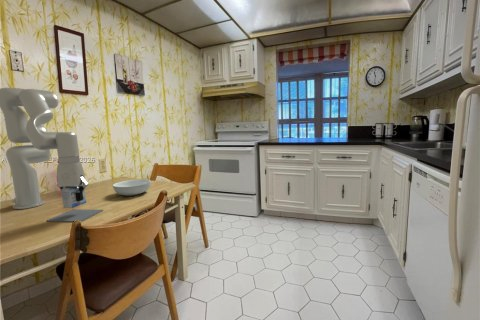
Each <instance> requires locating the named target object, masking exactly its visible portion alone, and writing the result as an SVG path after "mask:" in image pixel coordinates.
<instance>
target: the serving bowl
mask: <svg viewBox="0 0 480 320" xmlns="http://www.w3.org/2000/svg"><path fill="white" fill-rule="evenodd" d="M151 183H152V181H151V180H150V179H140V178H139V179H130V180H124V181H119V182H115V183H114V184H112V188H113V191H114V192H115V193H116V194H117V195H120V196H127V197H128V196H129V197H132V196H137V195H140V194H142V193H145V192H147V191H148V190H149V188H150V187H151Z"/></svg>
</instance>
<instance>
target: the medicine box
mask: <svg viewBox="0 0 480 320" xmlns="http://www.w3.org/2000/svg"><path fill="white" fill-rule="evenodd" d="M79 188H80V187H79ZM60 192H61V193H60V194H61V200H62V206H63V209H74V208H76V207H79V206H82V205H84V204H86V203H87V199H86V198H87V197H86V188H85V189H84V191H82V192H83V200H81V201H79V202H77V200H76V193H77V191H76V189H75V187H67V188H64V189H61V188H60Z"/></svg>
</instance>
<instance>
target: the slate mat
mask: <svg viewBox="0 0 480 320" xmlns="http://www.w3.org/2000/svg"><path fill="white" fill-rule="evenodd" d="M102 212H104V209H79V208H78V209H77V208H75V209H74V208H72V209H71V210H68V211H65V212H64V213H61V214H59V215H56V216H53V217H51V218H49V219H46V220H45V221H46V222H51V223H53V222H54V223H55V222H56V223H74V222H73V221H75V220H79V221H81V222H80V223H82V222H84V221H86V220H88V219H90V218H92V217H94V216H95V215H98V214H100V213H102Z"/></svg>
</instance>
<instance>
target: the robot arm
mask: <svg viewBox="0 0 480 320" xmlns="http://www.w3.org/2000/svg"><path fill="white" fill-rule="evenodd" d="M58 105H59V99H58V96H57V95H56V94H55V93H54V92H52V91H50V90H43V89H35V88H17V87H2V88H0V110H1V112H2V114H3V117H4V123H5V124H4V125H5V130H6V135H7V139H8V140H9V141H10V142H11V143H14V144H23V145H15V146H11V147H9V148H8V149H7V150H6V152H5V157H6V159H7V162H8V164H9V167H10V171H11V178H12V183H13V190H14V196H15V197H14V199H12V200H11V203H15V204H14V205H13V206H12V209H14V210H24V209H25V210H26V209H32V208H36V207H39V206H42V205H44V204H46V203H45V200H43V199H41V194H40V193H41V192H40V186H39V179H38V178H39V177H38V173H37V170H36V169H35V168H34V167H33V166H32V164H38V163H45V162H48V161H49V160H50V159H51V150H56V151H57V162H58V164H57V167H56V182H57V184H56V186H57V187H58V188H60V190H61V189H64V188H67V187H75V189H76V191H77V193H76V200H77V202H79V201H81V200H83V192H82V191H84V189H85V190H86V187H88V186H89V183H88V182H87V181H86V177H85V170H84V167H83V165H82V162H81V158H80V151H79V143H78V135H77V134H76V132H73V131H67V132H65V131H64V132H63V131H51V132H48V131H47V128H46V127H45V126H44V125H45V124H47V123H49V122H51V121H52V120H53V119H54V113H53V111H52V110H53V109H56V108H57V107H58ZM21 107H23V109H24V110H23V109H22V108H21ZM51 109H52V110H51ZM28 116H29V118H28ZM27 143H31V144H27ZM24 144H26V145H24ZM79 187H80V188H79Z"/></svg>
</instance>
